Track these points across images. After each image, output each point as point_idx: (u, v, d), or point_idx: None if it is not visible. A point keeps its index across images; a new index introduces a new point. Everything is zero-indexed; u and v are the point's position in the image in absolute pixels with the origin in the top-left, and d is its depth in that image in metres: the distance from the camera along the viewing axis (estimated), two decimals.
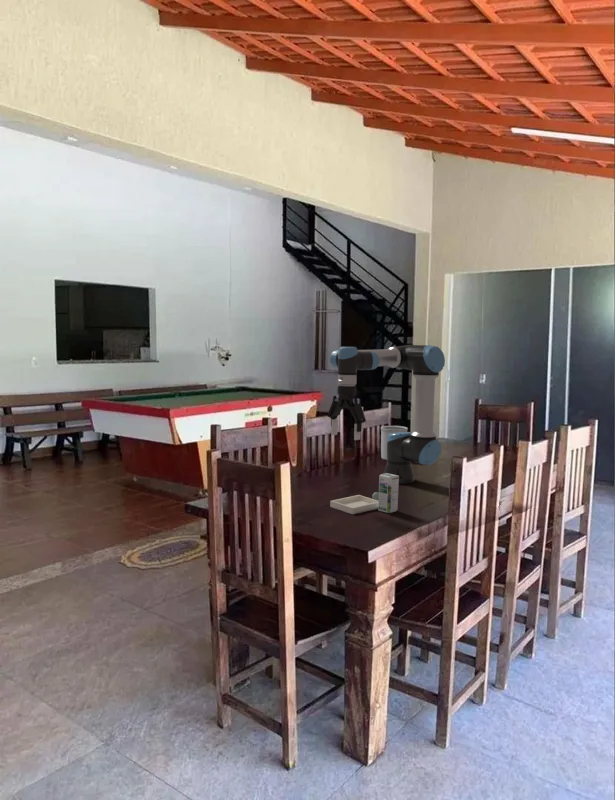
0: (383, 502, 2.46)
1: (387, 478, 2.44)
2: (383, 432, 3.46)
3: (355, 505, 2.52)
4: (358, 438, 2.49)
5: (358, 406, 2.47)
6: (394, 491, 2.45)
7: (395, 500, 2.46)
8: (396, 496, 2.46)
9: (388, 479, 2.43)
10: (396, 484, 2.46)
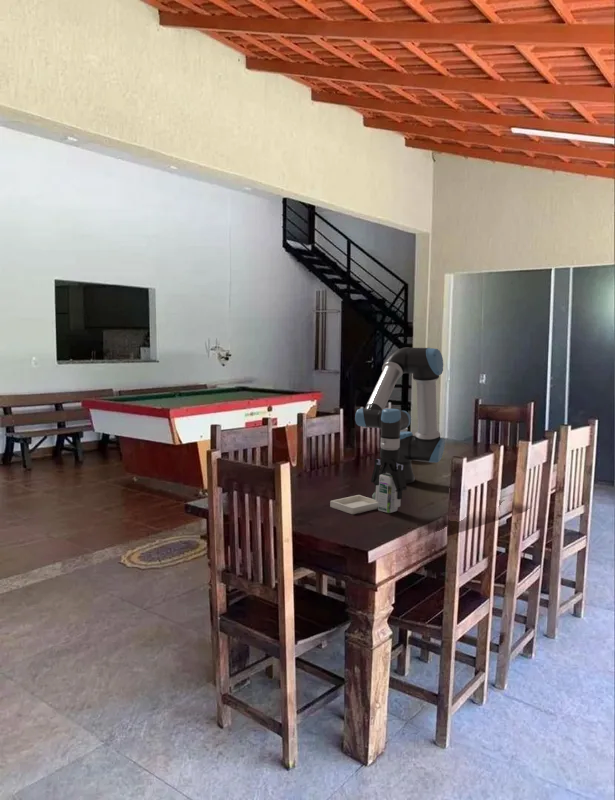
0: (383, 502, 2.46)
1: (387, 478, 2.44)
2: None
3: (355, 505, 2.52)
4: (398, 505, 2.44)
5: (401, 473, 2.41)
6: (394, 491, 2.45)
7: None
8: None
9: (388, 479, 2.43)
10: None
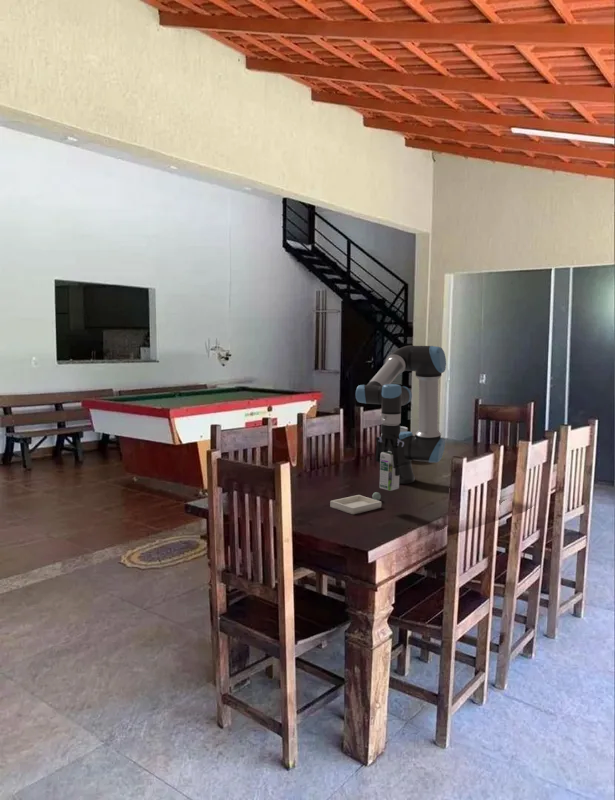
0: (384, 479, 2.45)
1: (388, 456, 2.43)
2: None
3: (355, 505, 2.52)
4: (396, 482, 2.45)
5: (401, 450, 2.40)
6: None
7: None
8: None
9: (389, 457, 2.43)
10: None
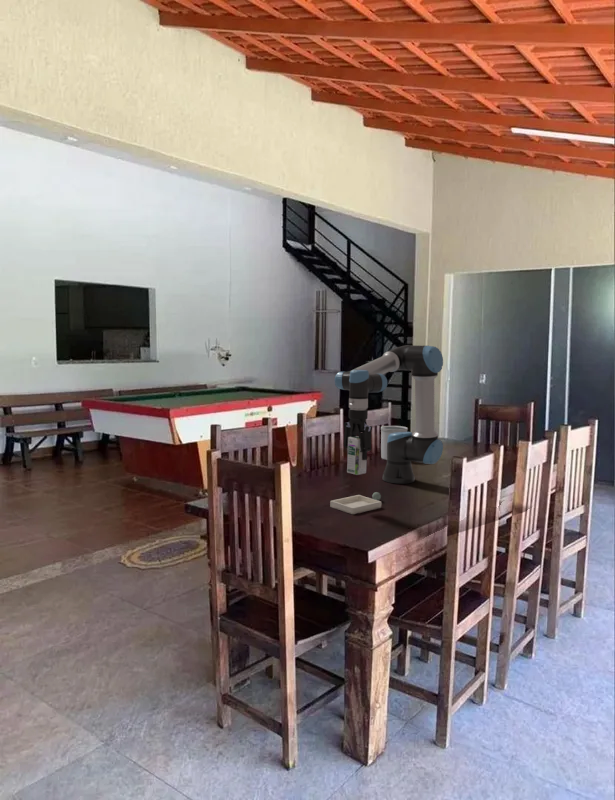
0: (351, 464, 2.48)
1: (355, 440, 2.46)
2: (383, 432, 3.46)
3: (355, 505, 2.52)
4: (363, 466, 2.48)
5: (368, 434, 2.44)
6: None
7: None
8: None
9: (356, 441, 2.46)
10: None
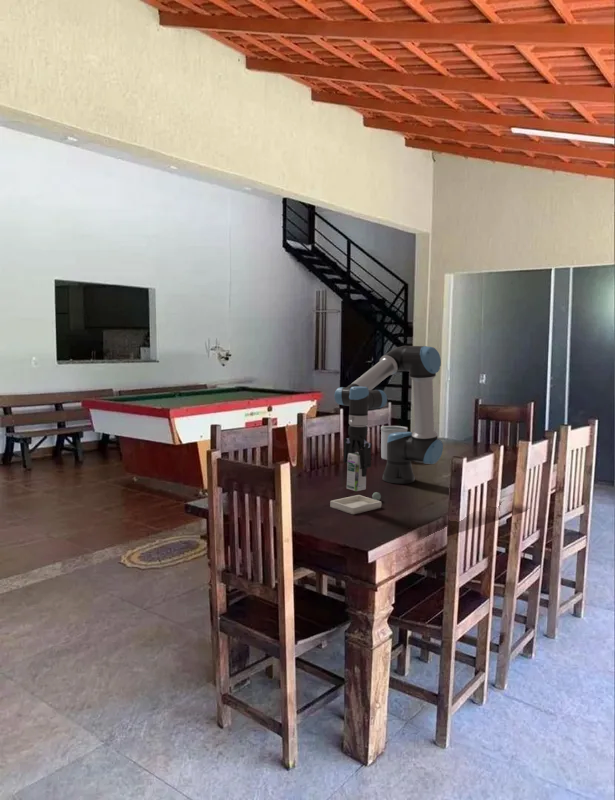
0: (351, 480, 2.49)
1: (354, 456, 2.47)
2: (383, 432, 3.46)
3: (355, 505, 2.52)
4: (363, 483, 2.48)
5: (367, 451, 2.44)
6: None
7: None
8: None
9: (355, 457, 2.46)
10: None
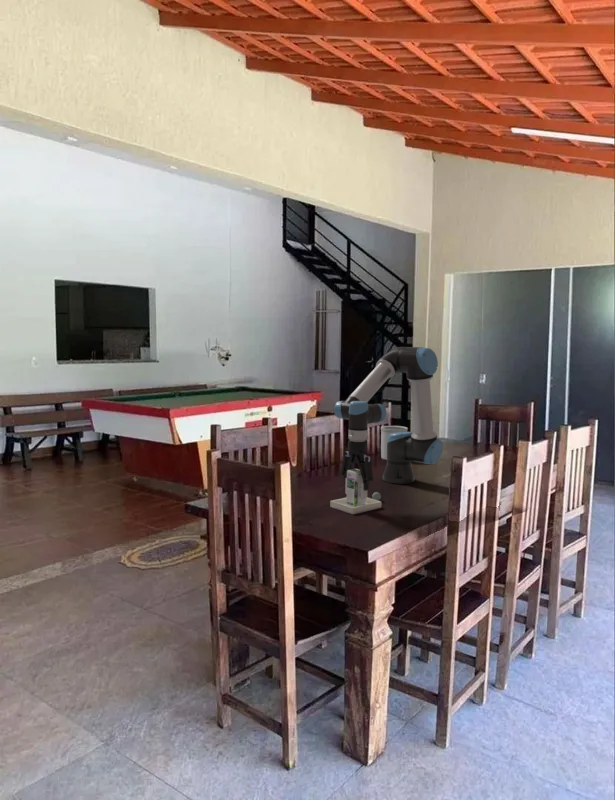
0: (350, 497, 2.50)
1: (354, 473, 2.48)
2: (383, 432, 3.46)
3: None
4: (365, 496, 2.48)
5: (368, 465, 2.44)
6: None
7: None
8: None
9: (354, 475, 2.47)
10: None
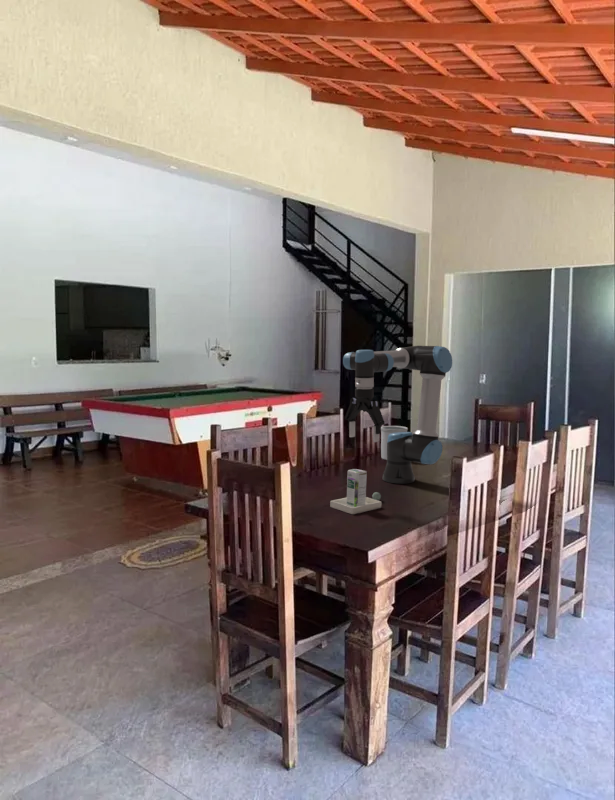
0: (350, 497, 2.50)
1: (354, 473, 2.48)
2: (383, 432, 3.46)
3: None
4: (377, 440, 2.52)
5: (376, 409, 2.49)
6: (361, 486, 2.49)
7: (363, 495, 2.50)
8: (364, 491, 2.50)
9: (355, 475, 2.47)
10: (364, 480, 2.49)
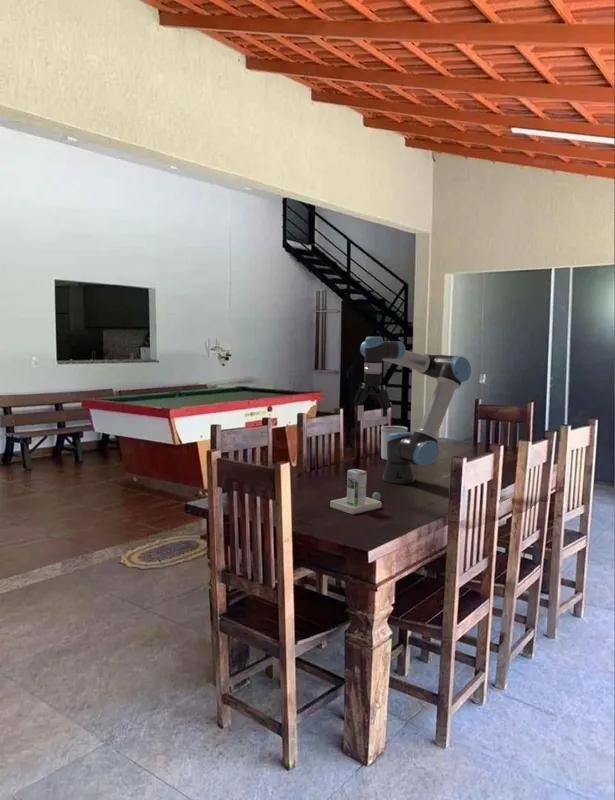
0: (351, 497, 2.50)
1: (354, 473, 2.48)
2: (383, 432, 3.46)
3: None
4: (384, 423, 2.64)
5: (384, 392, 2.61)
6: (361, 486, 2.49)
7: (363, 495, 2.50)
8: (364, 491, 2.50)
9: (355, 475, 2.47)
10: (364, 480, 2.49)
